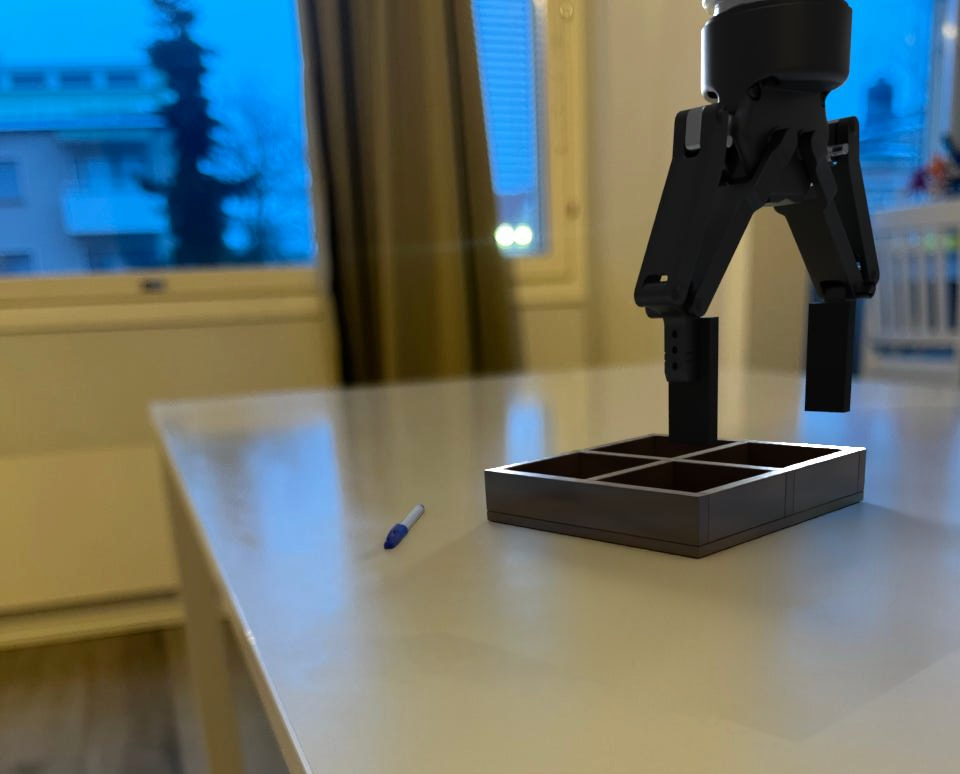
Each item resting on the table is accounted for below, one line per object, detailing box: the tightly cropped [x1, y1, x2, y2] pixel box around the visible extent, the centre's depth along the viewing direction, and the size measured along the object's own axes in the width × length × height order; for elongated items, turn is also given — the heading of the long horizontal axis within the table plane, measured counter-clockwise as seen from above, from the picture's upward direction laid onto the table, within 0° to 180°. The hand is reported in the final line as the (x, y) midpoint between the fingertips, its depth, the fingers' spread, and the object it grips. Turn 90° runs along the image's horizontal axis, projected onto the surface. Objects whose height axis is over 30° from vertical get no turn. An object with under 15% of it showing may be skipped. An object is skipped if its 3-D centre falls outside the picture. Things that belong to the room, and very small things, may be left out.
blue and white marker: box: [383, 504, 425, 550], centre depth 61 cm, size 10×1×1 cm, turn 174°
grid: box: [483, 432, 867, 559], centre depth 60 cm, size 16×16×3 cm
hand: (764, 426), depth 58 cm, fingers open, 13 cm apart
